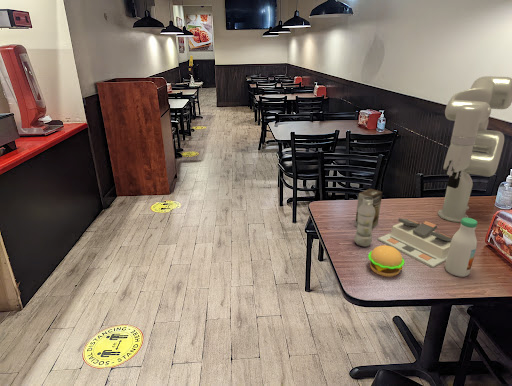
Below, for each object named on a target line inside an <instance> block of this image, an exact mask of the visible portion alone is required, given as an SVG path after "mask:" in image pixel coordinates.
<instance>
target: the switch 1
mask: <svg viewBox="0 0 512 386" xmlns="http://www.w3.org/2000/svg"><path fill="white" fill-rule="evenodd" d="M397 222H398V223H404V224H406V225H408V226H419V225H420V224H421V223H420V222H418V221H415V220H413V219H411V218H410V219H409V218H401V217H400V218H398V220H397Z"/></svg>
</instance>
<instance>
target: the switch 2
mask: <svg viewBox="0 0 512 386" xmlns="http://www.w3.org/2000/svg"><path fill="white" fill-rule="evenodd" d="M430 235H432V236H435V237H437V238H439V239H442V240H446V241H451V240H452V237H453V236H452V237H451V236H449V235H446V234H445V233H442V232H436V231H434V232H431V234H430Z"/></svg>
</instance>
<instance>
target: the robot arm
mask: <svg viewBox="0 0 512 386" xmlns="http://www.w3.org/2000/svg"><path fill="white" fill-rule="evenodd" d="M511 105H512V77H508V76H491V75H489V76H488V75H486V76H480V77H478V78H476V80H474V81H473V83H472V85H471V87H470V88H469V89H466V90H463V91H459V92H457V93H455V94H453V95H452V96H451V97H450V99H449V101H448V103H447V104H446V107H445V110H444V114H445V118H446V119H447V120H448V121H454V124H453V129H452V134H451V139H450V145H449V147H448V149H447V153H446V155H445V159H444V164H443V170H444V171H446V170H447V172H446V176H448V183H447V187H446V190H445V196H444V200H443V205H442V209H439V210H437V215H438V216H439V218H441V219H443V220H444V221H448V222H451V223H453V222H454V223H461V220H462V218H469V216H468V214H466V213H467V211H468V210H469V209H470V207H469V201H470V196H471V193H472V189H473V186H474V184H473V180H472V177H471V175H475V176H476V175H477V176H483V177H492V176H495V174H496V172H497V169H498V166H499V163H500V160H501V155H502V152H503V147H504V143H505V134H504V133H503V132H501V131H499V130H491V129H488V126H489V117H490V116H491V115H492V114H491V113H492V110H506V109H509V108H510V106H511Z"/></svg>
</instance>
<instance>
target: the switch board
mask: <svg viewBox="0 0 512 386" xmlns="http://www.w3.org/2000/svg"><path fill="white" fill-rule="evenodd" d="M417 227H418V226H408V225H406V224H404V223H401V222H398V223H396V224H394V225H392V227H391V230H390V231H391V232H389V233H387V234H385V235H382V236H380V237H378V238H377V241H379V242H381V243H383V244H384V245H387V246H391V247H394V248H395V249H397V250H398V251H399V252H400V253H401V254H404V255H407V256H408V257H410V258H412V259H414V260H415V261H418V262H420V263H422V264H424V265H426V266H428V267H430V268H432V269H433V268H436V267H438V266H439V265H441V264H443V263H446V259H447V255H448V251H449V247H450V243H451V241H446V240H442V239H439V238H437V237H435V236H432V235H430V234H431V233H430V234H429V235H428V236H426V237H425V238H423V237H421V236H419V235H417V234H414V233H413V230H414V229H415V228H417ZM433 232H435V230H434V231H433Z"/></svg>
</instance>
